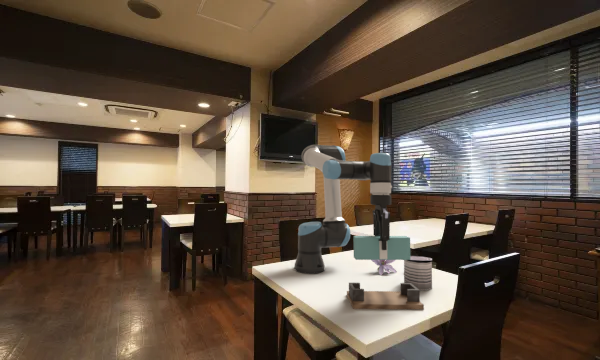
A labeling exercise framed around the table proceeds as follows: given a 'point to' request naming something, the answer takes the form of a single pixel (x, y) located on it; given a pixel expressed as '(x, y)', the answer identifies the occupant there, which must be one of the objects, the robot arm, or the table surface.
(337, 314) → the table surface
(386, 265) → the water lily
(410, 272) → the can
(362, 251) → the teal rectangular block
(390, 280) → the table surface
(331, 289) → the table surface
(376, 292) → the endcap board
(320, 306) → the table surface
